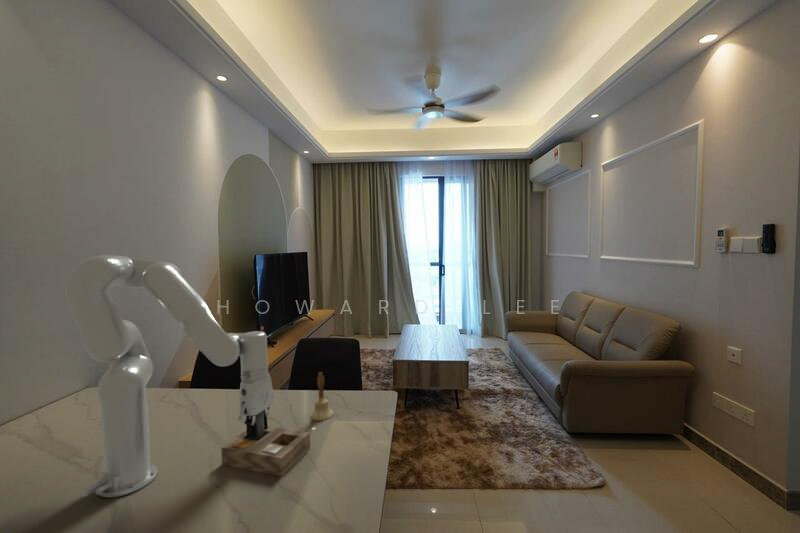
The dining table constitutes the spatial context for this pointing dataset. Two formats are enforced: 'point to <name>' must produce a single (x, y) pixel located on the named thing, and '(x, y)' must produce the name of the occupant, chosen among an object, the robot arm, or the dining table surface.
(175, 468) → the dining table surface
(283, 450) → the socket block
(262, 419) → the plug
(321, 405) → the hand bell
